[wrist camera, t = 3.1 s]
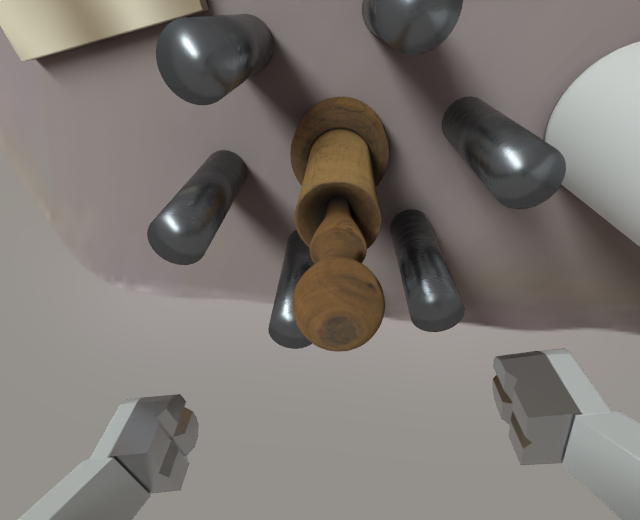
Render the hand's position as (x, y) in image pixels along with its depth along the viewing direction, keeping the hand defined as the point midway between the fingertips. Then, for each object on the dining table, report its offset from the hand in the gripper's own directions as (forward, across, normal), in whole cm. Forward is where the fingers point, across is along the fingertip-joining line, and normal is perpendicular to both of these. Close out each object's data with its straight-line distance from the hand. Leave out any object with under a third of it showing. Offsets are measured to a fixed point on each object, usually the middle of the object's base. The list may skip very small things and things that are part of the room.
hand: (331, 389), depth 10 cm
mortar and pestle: (+20, 0, 0) cm, 20 cm away
